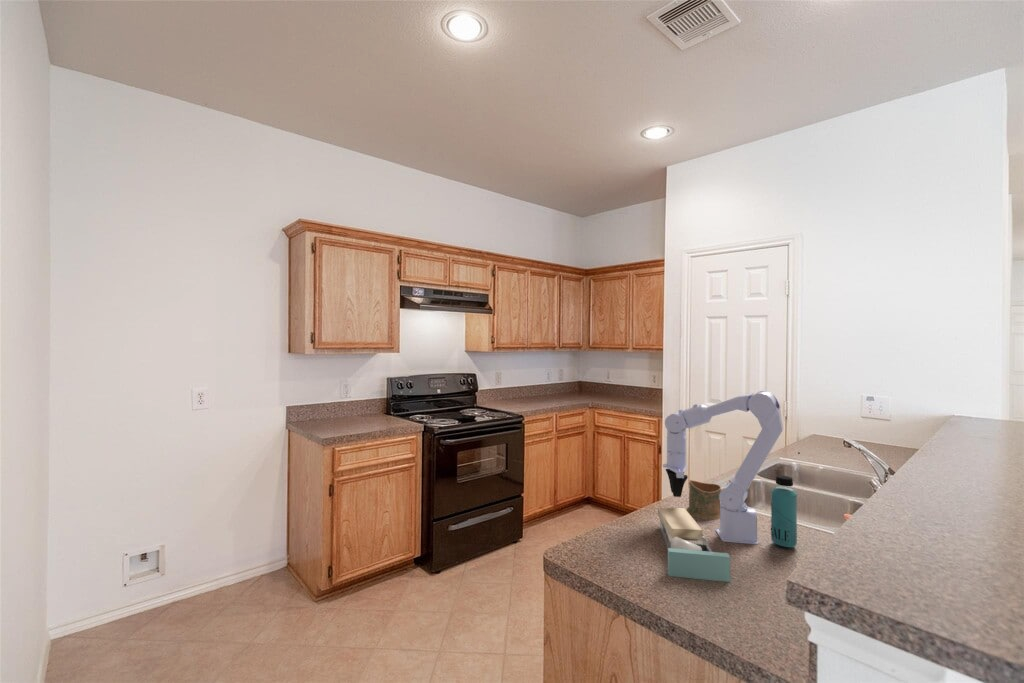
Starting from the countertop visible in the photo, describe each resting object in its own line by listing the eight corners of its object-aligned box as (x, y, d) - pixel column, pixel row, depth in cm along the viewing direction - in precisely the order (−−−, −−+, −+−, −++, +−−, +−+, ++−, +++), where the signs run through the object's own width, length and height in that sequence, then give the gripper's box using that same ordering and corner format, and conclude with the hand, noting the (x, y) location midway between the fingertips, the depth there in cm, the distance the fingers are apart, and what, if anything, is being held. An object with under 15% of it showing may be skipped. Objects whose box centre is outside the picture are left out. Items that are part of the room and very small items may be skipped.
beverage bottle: (794, 544, 129) (794, 474, 129) (800, 554, 123) (801, 481, 123) (768, 541, 131) (768, 472, 131) (773, 551, 125) (773, 478, 125)
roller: (692, 547, 122) (702, 544, 120) (693, 561, 120) (702, 558, 117) (670, 538, 121) (679, 535, 119) (670, 552, 119) (679, 549, 116)
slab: (684, 516, 139) (684, 508, 139) (702, 539, 123) (702, 529, 123) (657, 515, 139) (657, 507, 139) (672, 537, 123) (672, 528, 123)
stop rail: (727, 577, 110) (727, 553, 110) (730, 582, 108) (730, 557, 108) (667, 571, 113) (667, 547, 113) (668, 576, 111) (669, 551, 111)
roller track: (696, 531, 138) (696, 517, 138) (719, 576, 111) (719, 559, 111) (659, 528, 140) (660, 514, 140) (674, 571, 113) (674, 555, 113)
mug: (747, 525, 143) (747, 486, 143) (687, 518, 148) (687, 481, 148) (740, 511, 154) (740, 476, 154) (684, 505, 159) (685, 471, 159)
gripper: (660, 445, 151) (659, 486, 151) (666, 456, 136) (666, 501, 136) (682, 446, 149) (682, 487, 149) (691, 457, 135) (690, 503, 135)
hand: (676, 494), depth 143 cm, fingers open, 3 cm apart
